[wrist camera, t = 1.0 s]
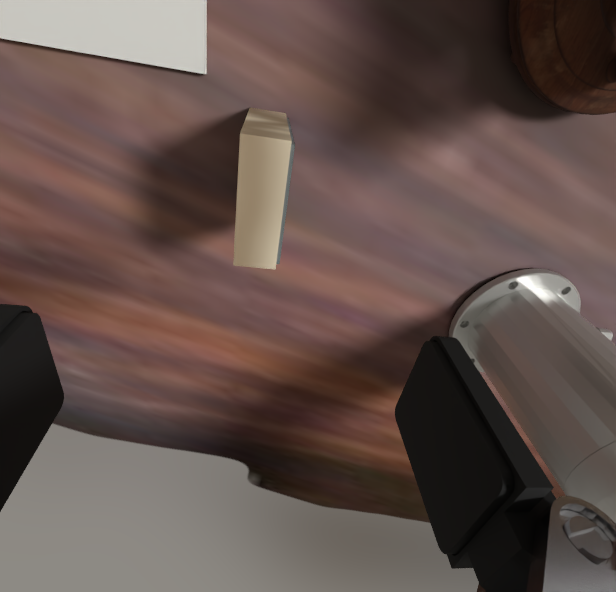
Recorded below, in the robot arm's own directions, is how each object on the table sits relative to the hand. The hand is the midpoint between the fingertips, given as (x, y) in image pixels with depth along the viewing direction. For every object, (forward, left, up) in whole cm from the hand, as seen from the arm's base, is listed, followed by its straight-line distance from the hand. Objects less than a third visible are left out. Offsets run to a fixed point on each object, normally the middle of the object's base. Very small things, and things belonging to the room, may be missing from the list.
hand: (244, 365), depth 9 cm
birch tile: (0, 0, -20) cm, 20 cm away
